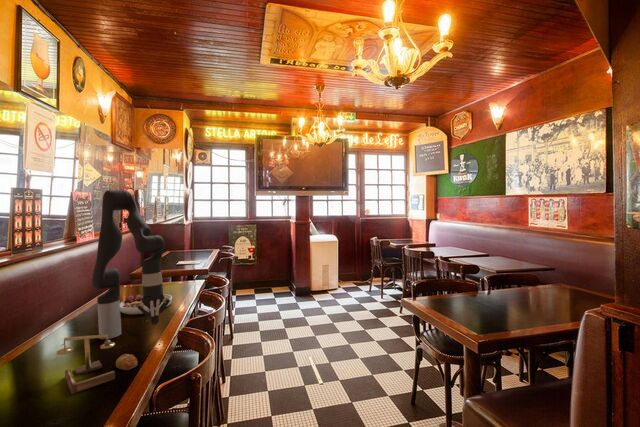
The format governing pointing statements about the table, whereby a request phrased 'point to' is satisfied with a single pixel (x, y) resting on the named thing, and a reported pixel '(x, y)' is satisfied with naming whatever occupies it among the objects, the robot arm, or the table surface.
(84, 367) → the balance
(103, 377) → the rail
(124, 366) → the pastry
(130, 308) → the bowl
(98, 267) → the robot arm
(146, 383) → the table surface
